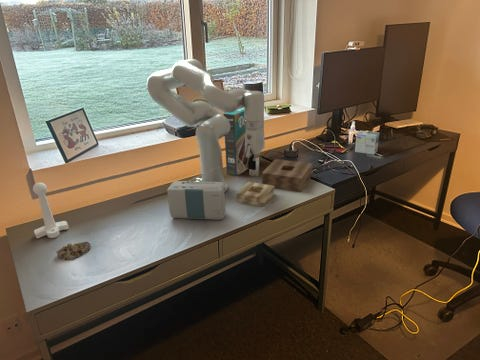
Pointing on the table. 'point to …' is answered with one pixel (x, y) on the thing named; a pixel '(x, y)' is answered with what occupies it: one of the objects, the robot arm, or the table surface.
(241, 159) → the cake mix box
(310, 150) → the table surface
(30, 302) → the table surface
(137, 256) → the table surface
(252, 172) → the orange capped bottle
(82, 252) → the mineral rock
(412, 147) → the table surface
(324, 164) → the hacksaw
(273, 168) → the block
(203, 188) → the stereo radio cassette player
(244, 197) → the stand
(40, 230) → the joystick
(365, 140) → the light bulb box
